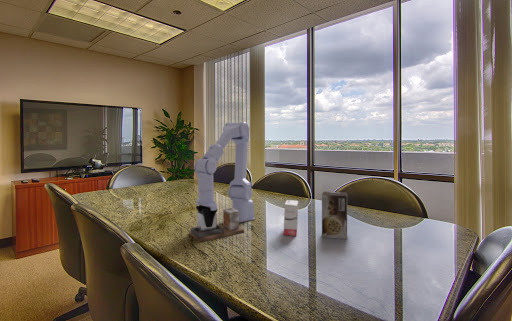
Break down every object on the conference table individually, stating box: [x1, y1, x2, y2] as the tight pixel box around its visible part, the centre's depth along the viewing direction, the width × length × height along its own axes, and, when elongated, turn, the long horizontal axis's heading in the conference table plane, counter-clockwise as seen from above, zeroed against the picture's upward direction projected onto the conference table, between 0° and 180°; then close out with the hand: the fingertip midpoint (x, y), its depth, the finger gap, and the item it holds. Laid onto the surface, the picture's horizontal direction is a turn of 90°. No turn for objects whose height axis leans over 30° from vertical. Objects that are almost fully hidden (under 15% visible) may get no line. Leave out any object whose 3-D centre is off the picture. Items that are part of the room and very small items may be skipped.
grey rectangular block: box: [196, 211, 218, 233], centre depth 103 cm, size 4×6×7 cm, turn 123°
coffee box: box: [321, 191, 348, 240], centre depth 101 cm, size 9×6×16 cm
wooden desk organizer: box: [188, 207, 245, 243], centre depth 105 cm, size 19×11×8 cm, turn 123°
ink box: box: [283, 199, 299, 237], centre depth 105 cm, size 9×5×12 cm, turn 168°
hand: (206, 225), depth 103 cm, fingers closed on grey rectangular block, 4 cm apart
